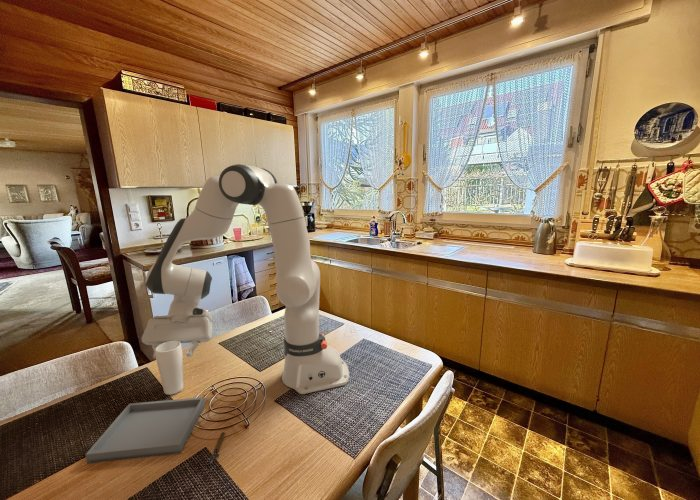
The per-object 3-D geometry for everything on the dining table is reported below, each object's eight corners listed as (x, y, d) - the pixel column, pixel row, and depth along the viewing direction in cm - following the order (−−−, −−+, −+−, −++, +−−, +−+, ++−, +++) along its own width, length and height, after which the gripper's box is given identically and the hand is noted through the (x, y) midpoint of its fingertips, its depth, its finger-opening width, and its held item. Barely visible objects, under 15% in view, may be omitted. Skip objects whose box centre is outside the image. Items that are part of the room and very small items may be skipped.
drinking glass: (174, 398, 85) (168, 353, 82) (155, 395, 87) (149, 350, 84) (191, 384, 92) (186, 341, 89) (173, 381, 93) (167, 339, 90)
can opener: (221, 435, 73) (221, 431, 73) (230, 435, 73) (230, 431, 73) (203, 469, 64) (202, 464, 64) (213, 469, 64) (213, 465, 64)
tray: (205, 404, 83) (204, 397, 82) (181, 453, 67) (179, 444, 67) (130, 411, 80) (129, 403, 80) (87, 463, 65) (85, 454, 64)
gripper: (145, 312, 93) (131, 356, 85) (211, 309, 95) (203, 352, 88) (154, 319, 98) (141, 361, 90) (217, 316, 100) (209, 357, 93)
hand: (172, 357), depth 89 cm, fingers open, 8 cm apart
